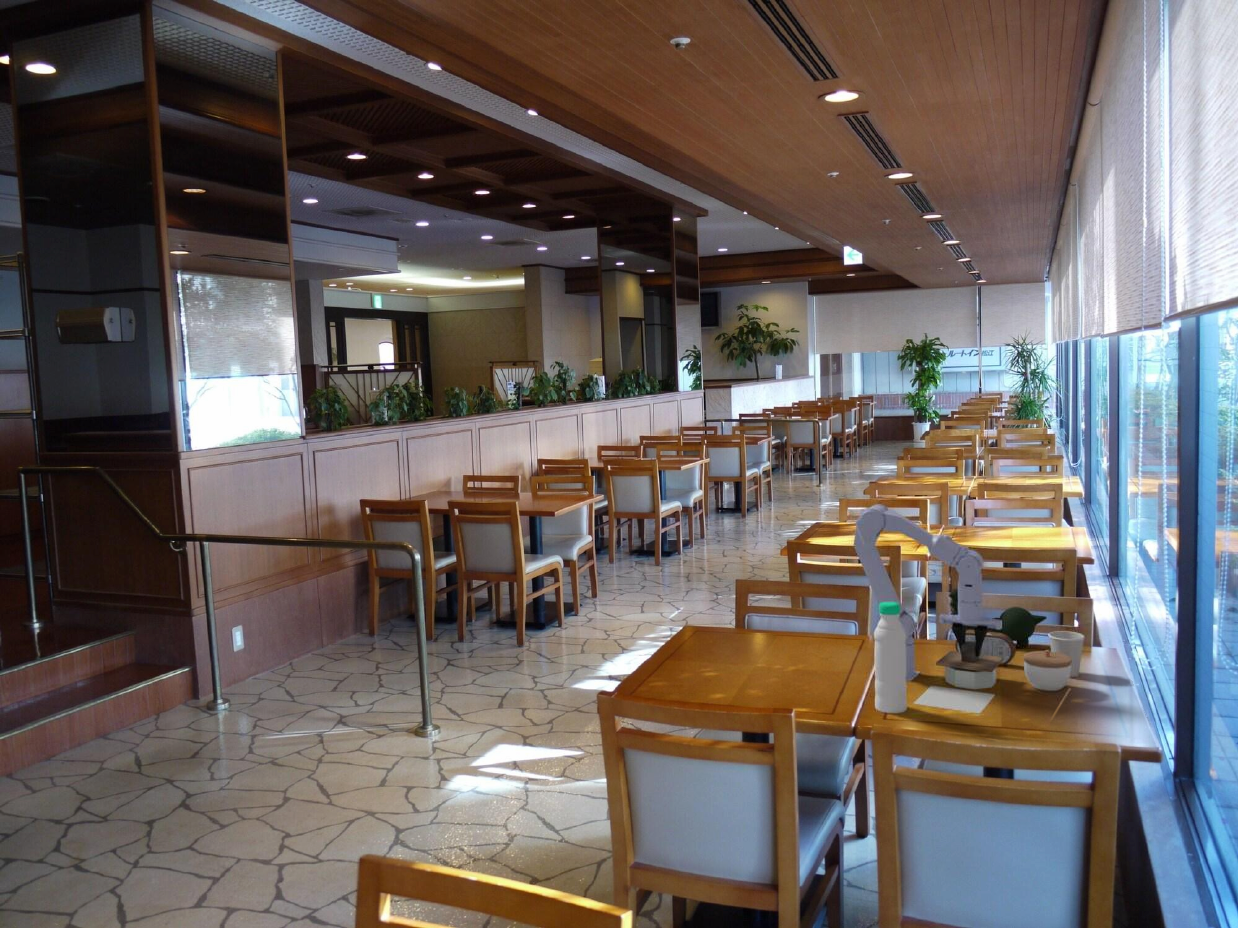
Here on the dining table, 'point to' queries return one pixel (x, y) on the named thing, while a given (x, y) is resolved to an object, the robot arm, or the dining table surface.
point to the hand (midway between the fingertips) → (970, 654)
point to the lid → (970, 659)
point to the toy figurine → (1008, 622)
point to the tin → (993, 645)
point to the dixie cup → (1068, 647)
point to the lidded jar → (1047, 669)
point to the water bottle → (890, 661)
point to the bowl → (970, 678)
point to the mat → (955, 699)
